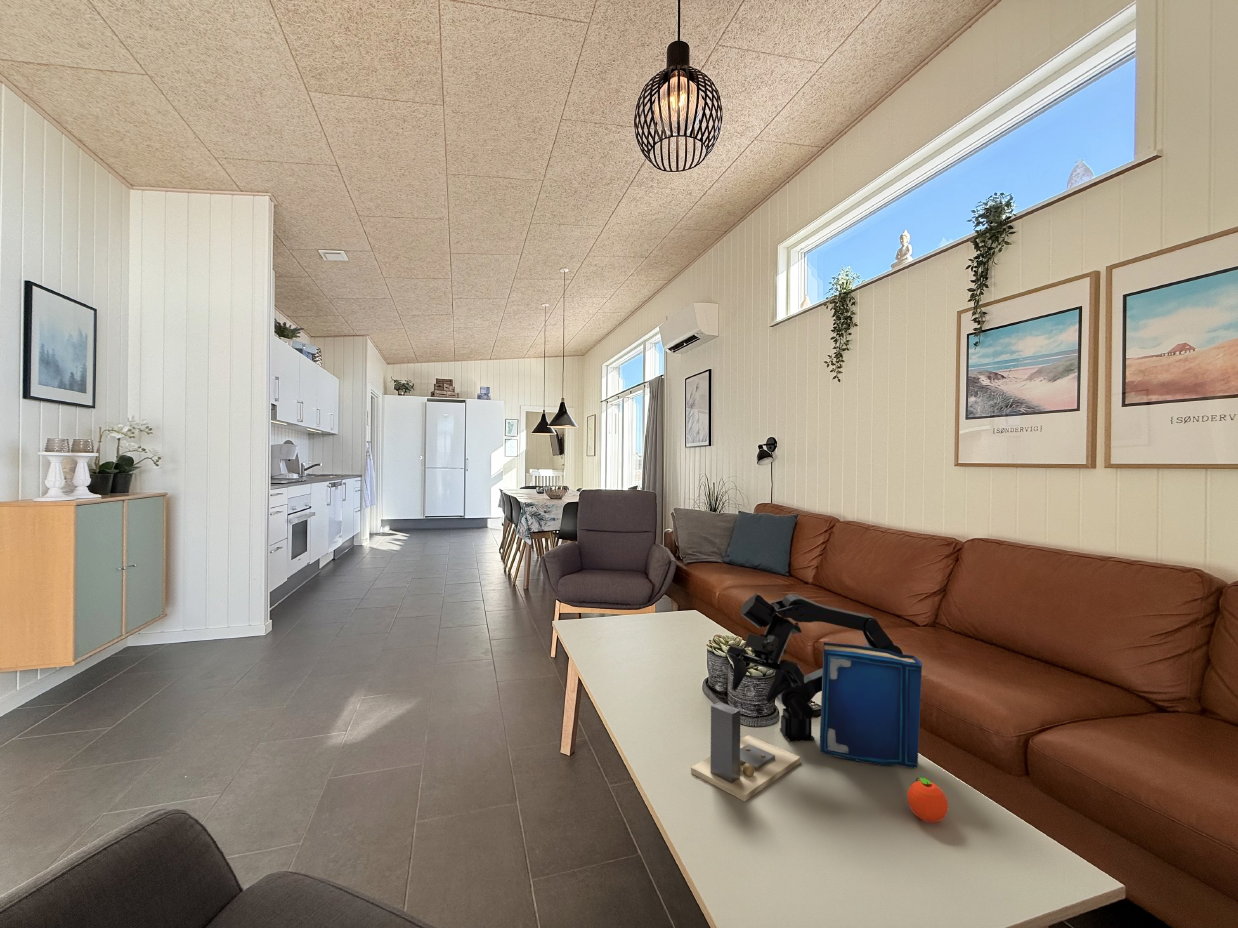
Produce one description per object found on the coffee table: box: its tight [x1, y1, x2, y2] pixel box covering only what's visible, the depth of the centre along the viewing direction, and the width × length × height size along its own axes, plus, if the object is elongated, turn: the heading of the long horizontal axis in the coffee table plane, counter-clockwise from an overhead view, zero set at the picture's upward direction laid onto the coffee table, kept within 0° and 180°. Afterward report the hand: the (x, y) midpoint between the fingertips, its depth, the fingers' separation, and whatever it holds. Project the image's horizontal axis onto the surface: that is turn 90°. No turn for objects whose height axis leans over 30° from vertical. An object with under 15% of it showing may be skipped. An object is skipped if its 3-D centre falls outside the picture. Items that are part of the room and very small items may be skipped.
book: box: [819, 642, 923, 769], centre depth 130 cm, size 22×7×25 cm, turn 71°
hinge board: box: [690, 734, 801, 802], centre depth 125 cm, size 22×14×3 cm, turn 133°
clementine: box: [906, 777, 949, 823], centre depth 108 cm, size 8×7×7 cm
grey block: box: [710, 701, 743, 784], centre depth 121 cm, size 6×6×14 cm
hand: (749, 695), depth 131 cm, fingers open, 9 cm apart
